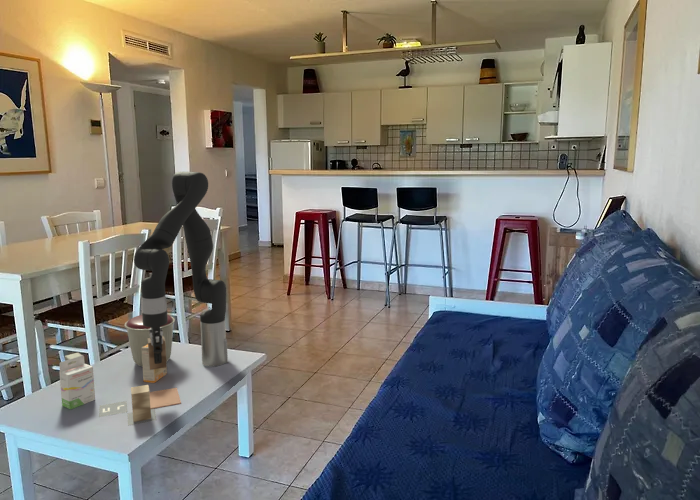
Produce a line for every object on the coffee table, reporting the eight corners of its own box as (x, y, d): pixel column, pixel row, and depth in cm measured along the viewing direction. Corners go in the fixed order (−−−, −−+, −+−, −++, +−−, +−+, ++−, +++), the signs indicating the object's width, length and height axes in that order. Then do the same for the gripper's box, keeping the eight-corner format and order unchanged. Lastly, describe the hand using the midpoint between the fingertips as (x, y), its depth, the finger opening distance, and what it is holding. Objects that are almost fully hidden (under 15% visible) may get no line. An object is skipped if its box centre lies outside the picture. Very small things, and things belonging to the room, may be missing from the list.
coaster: (176, 388, 174) (176, 387, 174) (181, 403, 163) (181, 402, 163) (139, 395, 169) (139, 393, 169) (141, 411, 158) (141, 409, 158)
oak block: (150, 411, 158) (148, 384, 156) (151, 418, 153) (149, 391, 152) (132, 414, 156) (130, 387, 154) (133, 422, 151) (131, 394, 150)
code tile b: (154, 408, 160) (154, 408, 160) (156, 420, 153) (156, 420, 153) (127, 413, 156) (127, 413, 156) (128, 425, 149) (128, 425, 149)
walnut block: (165, 361, 167) (163, 336, 165) (166, 367, 163) (165, 340, 161) (149, 364, 165) (147, 338, 163) (150, 369, 160) (148, 343, 159)
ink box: (70, 410, 158) (66, 366, 156) (61, 406, 161) (57, 362, 158) (96, 399, 165) (92, 357, 163) (87, 395, 168) (84, 354, 165)
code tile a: (126, 401, 164) (126, 400, 164) (127, 412, 157) (127, 411, 157) (99, 405, 161) (99, 405, 161) (98, 417, 154) (98, 417, 154)
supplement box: (155, 383, 178) (153, 348, 175) (143, 382, 178) (140, 347, 176) (168, 374, 185) (166, 340, 183) (156, 372, 186) (154, 339, 184)
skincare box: (88, 390, 172) (85, 356, 170) (74, 394, 169) (71, 360, 167) (81, 384, 176) (78, 351, 174) (67, 388, 173) (64, 355, 171)
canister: (164, 372, 187) (160, 318, 183) (117, 370, 188) (113, 316, 184) (184, 354, 204) (182, 304, 200) (142, 352, 206) (138, 302, 202)
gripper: (169, 314, 156) (171, 366, 159) (164, 302, 168) (167, 350, 171) (143, 317, 153) (146, 370, 156) (140, 305, 165) (143, 354, 168)
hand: (157, 359), depth 163 cm, fingers closed on walnut block, 5 cm apart
